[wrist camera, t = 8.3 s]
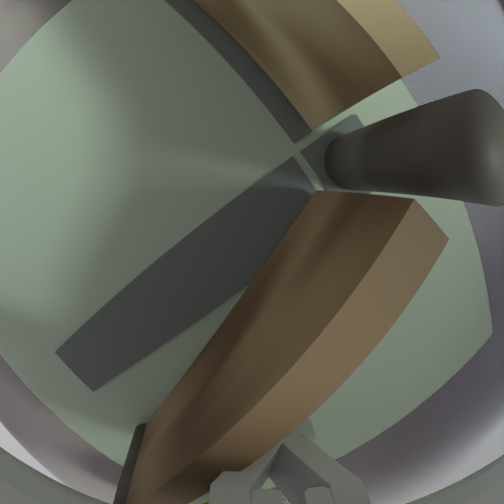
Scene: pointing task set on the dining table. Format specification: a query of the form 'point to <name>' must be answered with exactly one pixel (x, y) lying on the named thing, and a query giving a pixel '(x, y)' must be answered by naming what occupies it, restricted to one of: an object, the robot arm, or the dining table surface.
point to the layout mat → (182, 222)
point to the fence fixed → (365, 84)
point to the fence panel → (285, 342)
